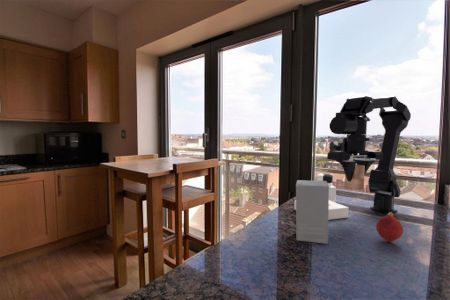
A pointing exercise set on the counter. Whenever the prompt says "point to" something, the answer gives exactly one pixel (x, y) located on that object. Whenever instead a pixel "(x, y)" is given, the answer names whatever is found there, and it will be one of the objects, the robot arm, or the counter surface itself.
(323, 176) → the medicine bottle
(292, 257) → the counter surface
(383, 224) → the onion
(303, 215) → the skincare box
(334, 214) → the socket block
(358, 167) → the peg
